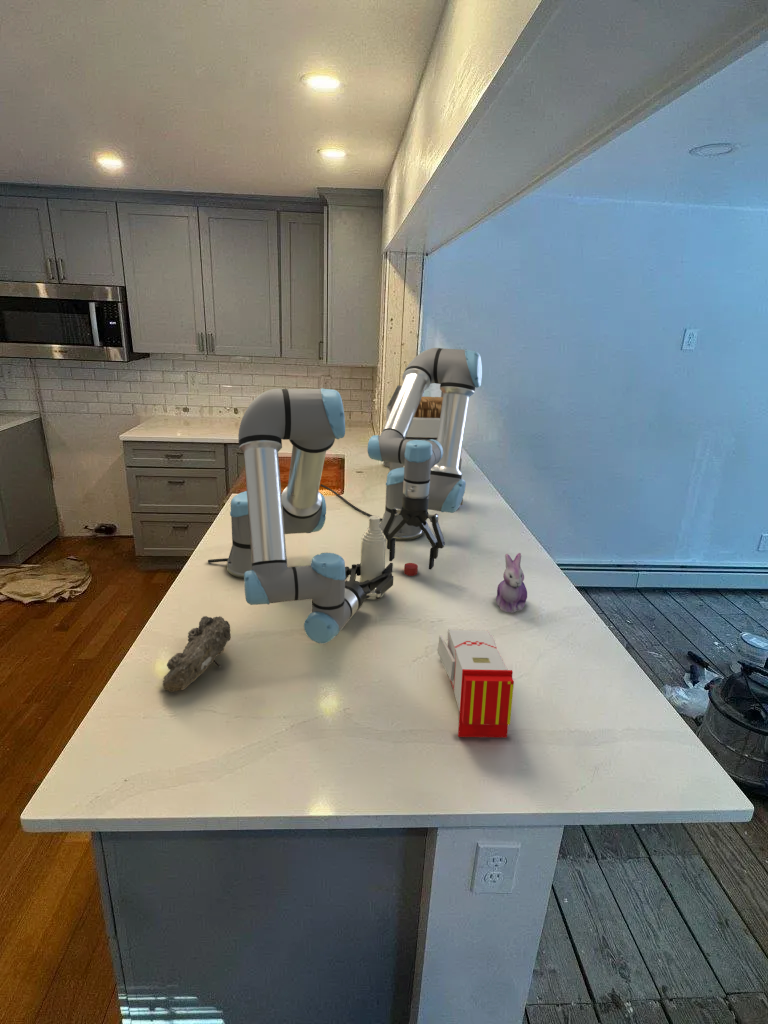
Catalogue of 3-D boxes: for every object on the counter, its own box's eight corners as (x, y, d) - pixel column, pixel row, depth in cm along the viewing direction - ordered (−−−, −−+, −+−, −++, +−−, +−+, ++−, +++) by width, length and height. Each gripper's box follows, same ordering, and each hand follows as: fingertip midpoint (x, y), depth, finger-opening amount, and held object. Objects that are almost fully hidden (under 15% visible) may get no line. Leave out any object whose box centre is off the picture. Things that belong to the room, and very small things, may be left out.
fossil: (186, 619, 132) (231, 589, 127) (214, 646, 135) (260, 618, 130) (141, 685, 113) (192, 653, 108) (176, 716, 116) (227, 686, 111)
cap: (401, 572, 171) (401, 565, 170) (410, 568, 173) (410, 561, 173) (410, 577, 168) (411, 569, 167) (420, 573, 171) (420, 566, 170)
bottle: (368, 585, 162) (371, 511, 154) (388, 592, 158) (392, 517, 151) (354, 594, 157) (356, 517, 149) (374, 601, 153) (377, 523, 145)
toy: (488, 613, 130) (523, 677, 101) (484, 667, 133) (517, 744, 104) (435, 612, 130) (455, 676, 101) (432, 666, 133) (451, 743, 103)
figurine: (509, 617, 148) (516, 565, 143) (485, 599, 156) (491, 550, 151) (537, 610, 152) (544, 559, 147) (512, 593, 161) (519, 544, 156)
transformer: (382, 463, 289) (386, 382, 275) (445, 464, 293) (451, 384, 279) (390, 482, 257) (394, 392, 243) (460, 483, 261) (468, 394, 247)
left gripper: (309, 605, 144) (346, 570, 164) (382, 622, 137) (411, 583, 158) (309, 579, 141) (347, 546, 161) (383, 595, 135) (413, 558, 155)
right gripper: (371, 492, 163) (369, 560, 171) (452, 505, 155) (446, 576, 162) (381, 485, 170) (379, 551, 177) (460, 497, 162) (453, 566, 169)
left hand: (379, 564), depth 160 cm, fingers closed on bottle, 7 cm apart
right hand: (411, 563), depth 170 cm, fingers open, 12 cm apart
